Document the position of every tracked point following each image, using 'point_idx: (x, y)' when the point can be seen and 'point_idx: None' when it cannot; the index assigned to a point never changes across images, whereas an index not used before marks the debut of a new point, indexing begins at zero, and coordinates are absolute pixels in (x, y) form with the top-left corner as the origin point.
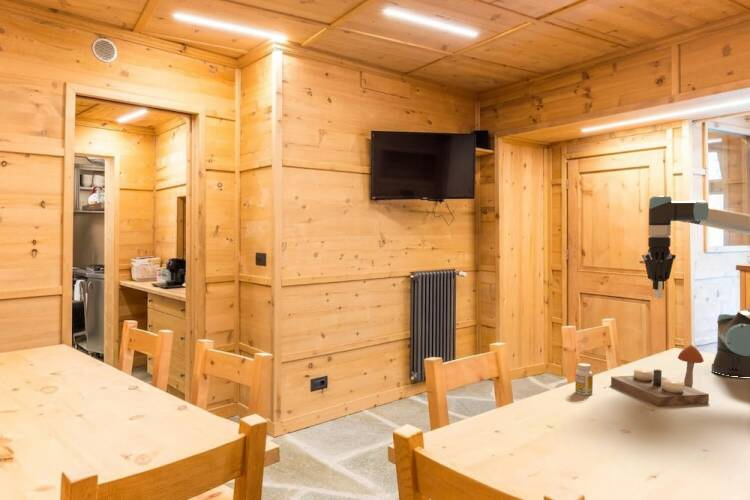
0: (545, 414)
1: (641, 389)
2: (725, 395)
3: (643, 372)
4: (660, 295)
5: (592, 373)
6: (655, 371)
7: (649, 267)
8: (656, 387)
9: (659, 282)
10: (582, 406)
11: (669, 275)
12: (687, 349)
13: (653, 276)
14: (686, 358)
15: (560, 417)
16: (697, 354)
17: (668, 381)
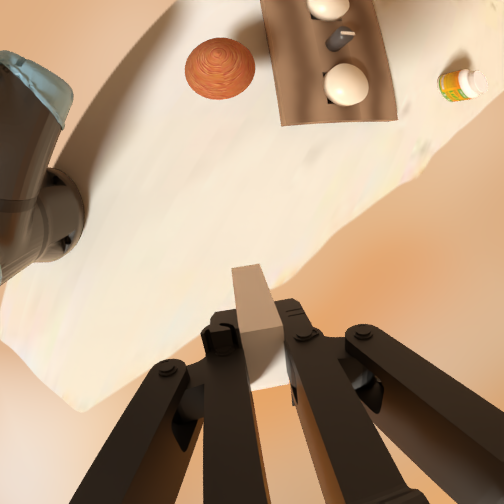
0: (496, 33)
1: (378, 28)
2: (181, 32)
3: (355, 72)
4: (248, 273)
5: (461, 72)
6: (351, 31)
7: (473, 403)
8: None
9: (278, 319)
10: (461, 36)
11: (142, 390)
12: (236, 51)
13: (374, 342)
14: (246, 48)
15: (484, 19)
16: (215, 38)
17: (336, 4)
